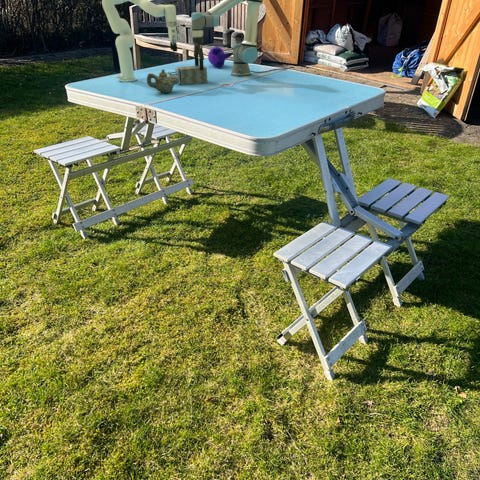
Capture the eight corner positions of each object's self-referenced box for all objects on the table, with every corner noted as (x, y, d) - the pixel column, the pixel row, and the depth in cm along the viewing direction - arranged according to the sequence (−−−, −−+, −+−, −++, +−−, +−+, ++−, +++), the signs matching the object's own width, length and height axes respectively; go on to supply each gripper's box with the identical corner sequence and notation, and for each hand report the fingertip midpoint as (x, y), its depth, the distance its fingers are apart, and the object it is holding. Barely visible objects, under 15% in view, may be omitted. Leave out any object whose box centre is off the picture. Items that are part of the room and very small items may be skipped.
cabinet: (181, 85, 324) (180, 69, 318) (178, 82, 332) (177, 67, 327) (207, 83, 329) (206, 67, 323) (203, 80, 337) (202, 65, 332)
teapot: (178, 89, 310) (176, 66, 303) (181, 93, 301) (179, 69, 293) (147, 92, 305) (144, 69, 297) (149, 95, 295) (147, 71, 288)
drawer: (170, 84, 321) (169, 71, 317) (168, 82, 329) (167, 69, 324) (203, 81, 328) (202, 68, 323) (199, 79, 336) (199, 67, 331)
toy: (218, 69, 373) (208, 68, 396) (237, 62, 376) (226, 61, 399) (212, 50, 365) (203, 50, 388) (232, 42, 368) (221, 43, 392)
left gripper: (178, 25, 310) (181, 51, 319) (174, 23, 324) (177, 48, 333) (168, 25, 308) (170, 52, 317) (164, 23, 323) (167, 49, 331)
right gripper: (207, 38, 307) (208, 71, 318) (198, 34, 328) (199, 65, 338) (197, 38, 305) (198, 71, 316) (188, 35, 326) (190, 66, 336)
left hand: (174, 50), depth 325 cm, fingers open, 9 cm apart
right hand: (199, 68), depth 327 cm, fingers open, 13 cm apart
